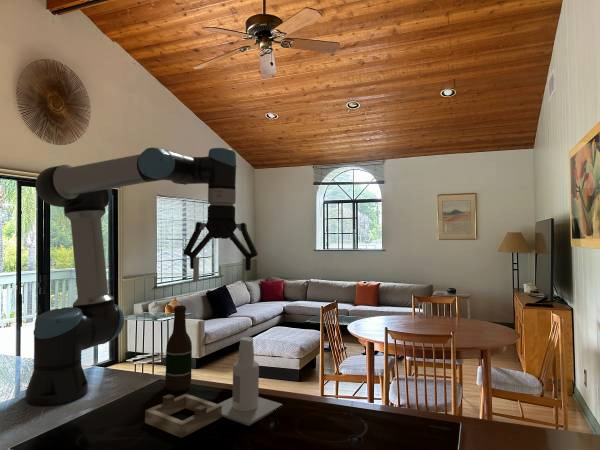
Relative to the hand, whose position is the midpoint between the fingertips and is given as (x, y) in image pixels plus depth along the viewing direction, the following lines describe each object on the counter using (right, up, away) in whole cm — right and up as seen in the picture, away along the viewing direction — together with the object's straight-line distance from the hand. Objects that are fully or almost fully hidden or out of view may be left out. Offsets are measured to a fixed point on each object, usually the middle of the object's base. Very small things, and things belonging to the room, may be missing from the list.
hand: (220, 281), depth 121 cm
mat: (+8, -33, -5) cm, 34 cm away
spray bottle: (+8, -33, -5) cm, 34 cm away
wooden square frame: (-7, -33, -13) cm, 36 cm away
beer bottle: (-14, -33, +9) cm, 37 cm away
